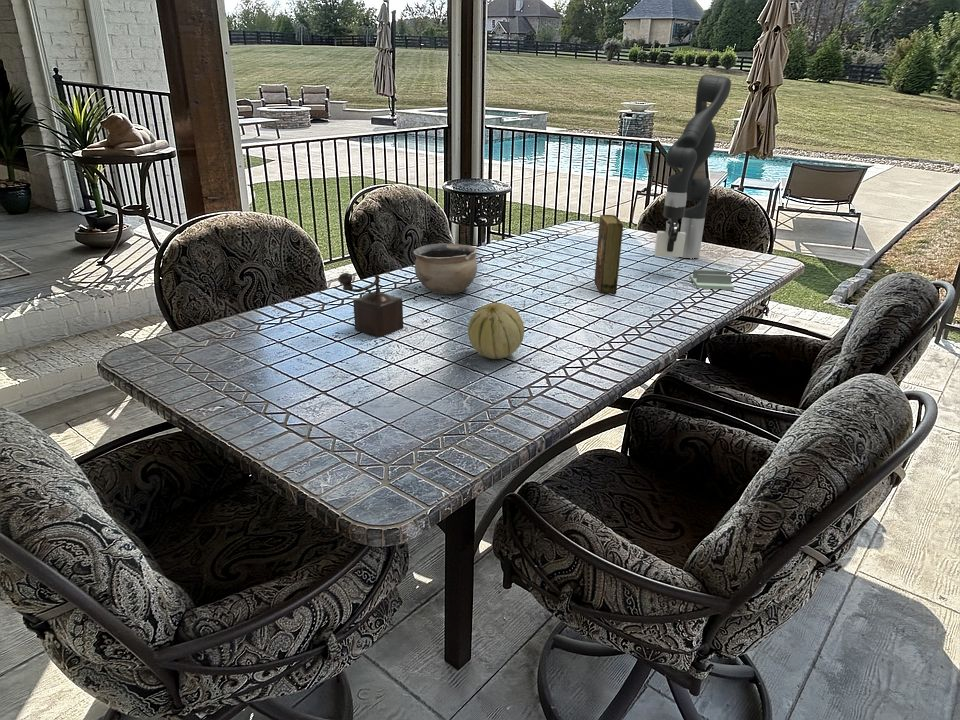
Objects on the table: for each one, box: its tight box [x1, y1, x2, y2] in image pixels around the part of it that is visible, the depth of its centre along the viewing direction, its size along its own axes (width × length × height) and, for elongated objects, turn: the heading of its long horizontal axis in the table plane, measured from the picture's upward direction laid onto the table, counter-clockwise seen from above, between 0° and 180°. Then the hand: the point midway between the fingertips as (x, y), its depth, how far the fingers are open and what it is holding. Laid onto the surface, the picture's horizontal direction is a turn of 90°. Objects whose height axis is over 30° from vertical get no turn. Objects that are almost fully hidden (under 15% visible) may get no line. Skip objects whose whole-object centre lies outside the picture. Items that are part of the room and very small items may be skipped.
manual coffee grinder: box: [337, 272, 404, 338], centre depth 182 cm, size 16×11×18 cm
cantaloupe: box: [467, 302, 525, 360], centre depth 167 cm, size 15×15×15 cm
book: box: [593, 214, 624, 295], centre depth 225 cm, size 16×6×25 cm, turn 179°
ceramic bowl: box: [413, 242, 478, 295], centre depth 221 cm, size 22×22×15 cm
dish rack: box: [688, 269, 735, 291], centre depth 236 cm, size 14×13×4 cm
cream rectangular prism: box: [654, 230, 686, 258], centre depth 241 cm, size 3×10×9 cm, turn 84°
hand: (669, 250), depth 242 cm, fingers closed on cream rectangular prism, 3 cm apart
